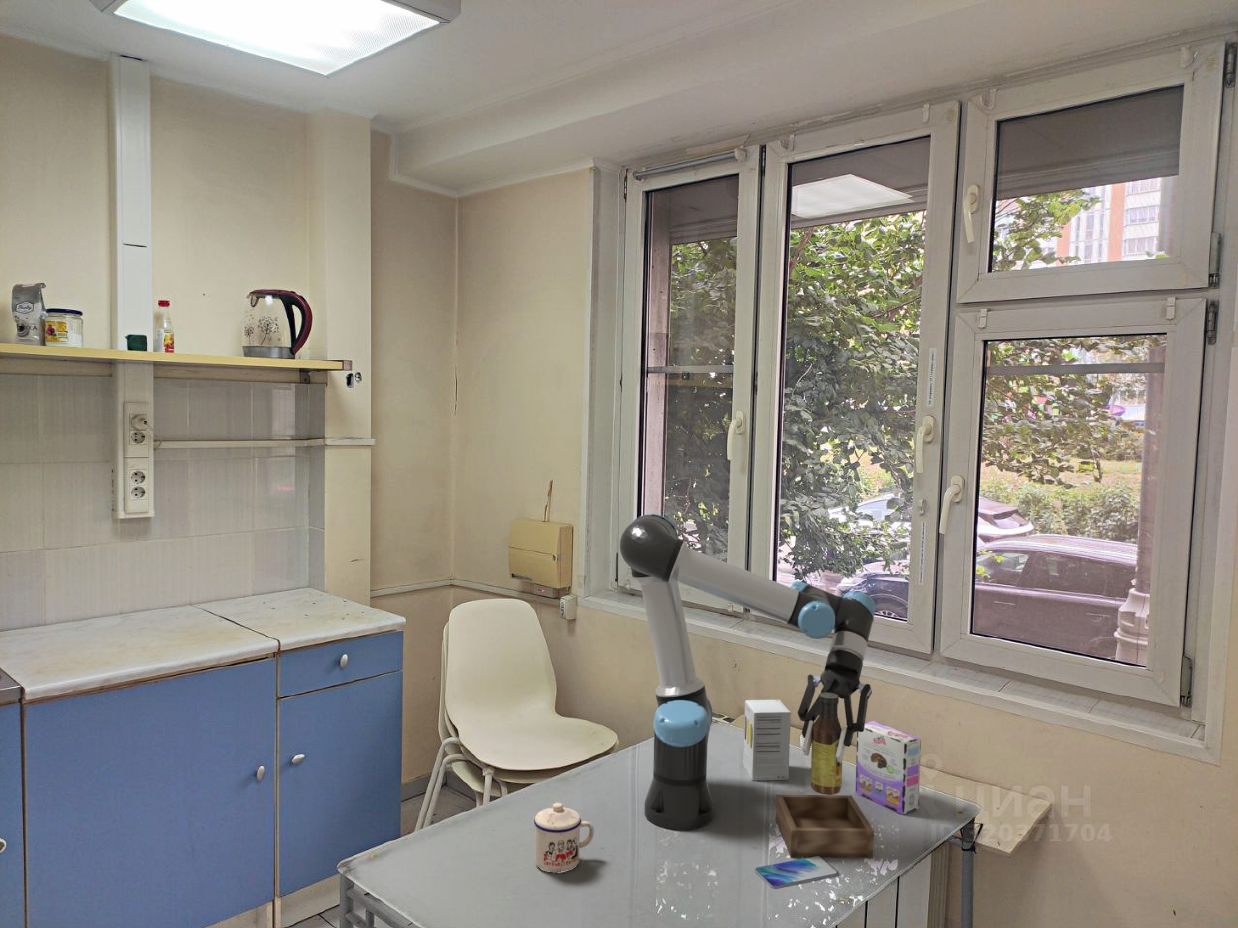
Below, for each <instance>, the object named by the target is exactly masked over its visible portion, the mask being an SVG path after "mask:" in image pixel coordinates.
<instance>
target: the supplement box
mask: <svg viewBox="0 0 1238 928" xmlns="http://www.w3.org/2000/svg"><path fill="white" fill-rule="evenodd" d="M744 701H745V702H744V721H743V722H744V723H743V725H744V727H743V757H742V760H743V761H742V762H743V763H742V766H743V767H744V770H745V771H746V773H747V775H748V776H749V778H750V780H751V781H755V782H756V781H758V780H759V781H788V780H789V779H790V778H789V773H790V750H791V749H790V748H791V747H790V740H791V720H792V719H791V718H792V712H791V710H789V709H788V708H787V707H786V705H785V704H784V703H783V702H782V701H781V699H748V700H747V699H746V700H744Z"/></svg>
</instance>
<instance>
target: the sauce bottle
mask: <svg viewBox="0 0 1238 928" xmlns="http://www.w3.org/2000/svg"><path fill="white" fill-rule="evenodd" d="M818 696H819V699H818V701H819V715H818V717H817V718H816V720H815V721H814V725H813V738H812V744H811V757H810V759H811V760H810V765H811V766H810V781H811V782H810V783H811V785H810V787H811V789H812V791H814V792H816V793H817V794H819V795H838V793H840V792H841V788H842V782H843V779H842V778H843V762H842V763H840V762H838V761H837V758H836V752H837V748H838V744H839V740H840V735H841V731H842V727H841V723H840V720H839V717H838V707H839V706H838V704H839V701H840V700H839V696H838V695H836V694H834V693H827V692H825V693H821V692H820V693H818Z"/></svg>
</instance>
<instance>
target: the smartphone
mask: <svg viewBox="0 0 1238 928" xmlns="http://www.w3.org/2000/svg"><path fill="white" fill-rule="evenodd" d="M754 873H755V874H756V875H757V876H758V877H760V879H761V880H762V881H763V882H765V883H766V884H767V885H768V886H769V887H770V888H771V889H772V890H775V889H781V888H786V887H787V888H788V887H791V886H796V885H800V884H805V883H810V882H815V881H820V880H824V879H825V878H826V879H830V878H834V877H839V876H840V873H839V871H838V870H837V869H836V868H835V867H834V866H832V865H831V864H830V863H829V862H828V861H826V859H824V858H822V857H820V856H814V857H802V858H799V859H793V860H789V861H783V862H780V863H779V862H778V863H774V864H768V865H763V866H759V867H755V869H754Z"/></svg>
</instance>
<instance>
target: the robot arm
mask: <svg viewBox="0 0 1238 928" xmlns="http://www.w3.org/2000/svg"><path fill="white" fill-rule="evenodd" d="M619 551H620V555H621V557H622V559H623V561H624V562H625V563H626V565H627V566H628V567H630V571H631V577H632V578H633V580H635V581H636V582H637V583H639V584H640V588H641V594H642V599H643V604H644V610H645V613H646V619H647V623H648V624H647V625H648V628H649V633H650V640H651V643H652V644H651V645H652V649H653V653H654V659H655V663H656V664H655V665H656V670H657V676H658V680H659V684H658V686H657V687H656V689H655V691H654V692H655V693H654V694H655V698H656V704H657V709H656V711H655V713H654V718H653V723H652V725H653V762H652V763H653V767H652V768H653V769H652V770H653V771H652V780H651V784H650V786H649V789H648V792H647V794H646V797H645V800H644V810H643V811H644V812H643V813H644V816H645V818H646V819H647V820H648V821H649V822H651V823H652V824H654V825H656V826H659V827H662V828H665V829H671V830H693V829H699V828H703V827H704V826H707V825H708V824H710V823H711V822H712V821H713V819H714V817H715V816H714V815H715V811H714V810H715V807H714V803H713V798H712V795H711V794H712V793H711V791H710V788H709V785H708V782H707V781H708V780H707V771H708V770H707V767H708V766H707V765H708V741H709V735H710V732H711V731H710V730H711V726H712V723H713V717H714V716H713V714H714V713H713V708H712V704H711V703H710V700H709V698H708V695H707V690H706V687H705V682H704V680H703V679H700V678H699V677H698V676H697V672H696V669H695V663H694V659H693V658H694V657H693V653H692V648H691V643H690V638H689V631H688V629H687V623H686V618H685V613H684V607H683V602H682V598H681V597H682V596H681V592H680V588H679V583H681V584H684V585H686V586H689V587H691V588H695V589H696V590H699V591H701V592H704V593H708V594H709V595H712V596H713V597H714V596H715V597H717V598H719V599H722V600H725V601H727V602H730V603H732V604H735V605H738V606H739V607H742V608H745V609H748V610H750V611H753V612H756V613H758V614H761V615H762V616H765V617H768V618H770V619H772V620H773V619H774V620H776V621H778V622H781V623H784V624H786V625H789V626H791V627H793V628H795V629H797V630H800V631H801V633H803V634H804V635H805V636H807V637H808V638H810V639H813V640H819V639H824V638H826V637H828V636H829V635H831V633H832V631H833V635H832V639H831V642H830V646H829V649H828V650H829V653H828V654H827V658H826V662H825V667H824V670H823V672H822V673H821V674H820V675H817V676H813V675H812V674H808V675H807V685H806V688H805V691H804V693H803V697H802V698H801V703H800V705H799V708H798V711H797V715H798V718H799V720H800V721H801V722H803V726H802V729H801V730H802V731H801V735H802V737H803V738H804V741H803V744H802V745H803V746H802V748H801V749H802V752H803V754H804V756H808V757H809V755H810V751H811V749H812V738H813V725H814V723H815V721H816V720H817V719H818V717H819V701H818V699H819V695H818V697H816V699H815V701H814V703H813V704H812V701H813V698H814V697H815V692H816V688H818V686H819V684H820V683H821V684H822V689H821V690H820V693H825V692H827V693H834V694H836V695H838V696H839V698H840V699H842V700H843V704H844V713H845V722H846V726H842V727H841V729H842V731H841V735H840V740H839V744H838V748H837V752H836V758H837V761H838V762H840V763H842V764H843V759H844V755H845V750H846V747H849V748H850V747H851V746H852V742H853V738H854V734H855V733H857V731H859V732H863V731H864V727H865V723H866V718H867V711H868V704H869V699H870V697H871V695H872V693H873V691H872V690H873V689H872V687H871V685H870V684H869V683H865V684H864V683H861V681H860V679H861V675H862V670H863V666H864V660H865V656H866V653H867V648H868V643H869V638H870V635H871V631H872V626H873V623H874V620H875V611H876V603H875V600H874V599H873V598H872V597H871V596H870V595H868V594H867V593H864V592H860V591H859V592H857V591H848V592H846V593H845V594H844V595H843V596H839V595H836V594H834V593H831V592H829V591H827V590H824V589H821V588H819V587H817V586H813V585H811V584H810V583H806V582H803V581H800V580H795V581H794V582H792V585H790V586H788V585H785V584H783V583H780V582H778V581H774V580H772V579H770V578H767V577H765V576H762V575H759V574H756V573H754V572H751V571H749V570H746V569H743V568H741V567H738V566H737V565H734V564H731V563H728V562H726V561H724V560H721V559H719V558H715V557H713V556H712V555H711V556H710V555H708V554H705V553H703V552H701V551H699V550H698V551H697V550H695V549H693V548H690V547H689V546H688V544H687V542H686V541H685V540H682V539H680V538H679V535H678V531H677V529H676V527H675V525H674V523H673V522H672V521H671V520H670V519H669V518H667V517H665V516H663V515H661V514H657V513H649V514H648V513H647V514H643V515H640V516H638V517H636V518H635V519H634V520H633V521H631V523H630V524H629V525H628V526H627V527H626V528H625V530H623V532H622V534H621V537H620V540H619ZM857 690H859V694H860V696H859V702H858V709H857V715H856V721H855V722H854V714H853V707H852V695H853V694H854V693H855V692H856V691H857ZM811 704H812V706H811Z"/></svg>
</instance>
